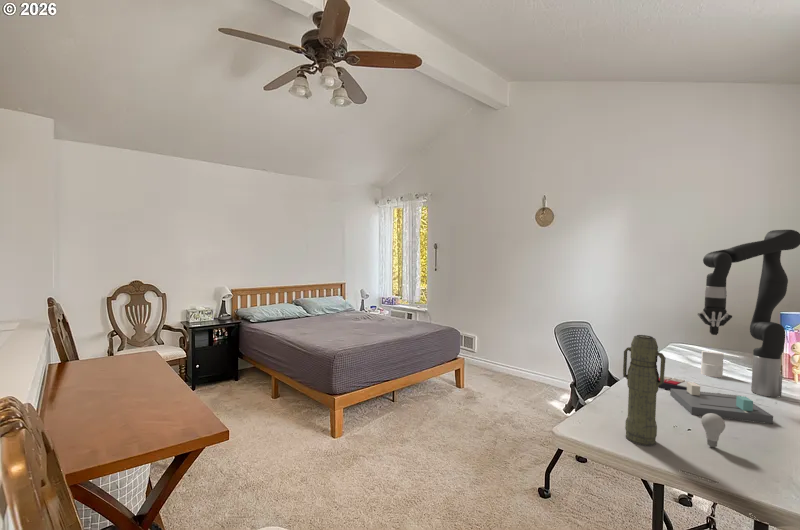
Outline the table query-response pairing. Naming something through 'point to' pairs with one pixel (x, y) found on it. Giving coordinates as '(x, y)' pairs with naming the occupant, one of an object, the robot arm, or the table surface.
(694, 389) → the block
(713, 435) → the lightbulb
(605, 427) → the table surface
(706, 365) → the white cylinder
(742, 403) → the fader teal
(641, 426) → the thermos
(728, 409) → the console
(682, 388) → the calculator
